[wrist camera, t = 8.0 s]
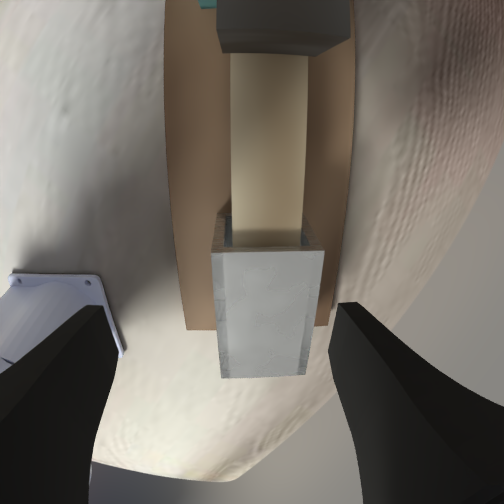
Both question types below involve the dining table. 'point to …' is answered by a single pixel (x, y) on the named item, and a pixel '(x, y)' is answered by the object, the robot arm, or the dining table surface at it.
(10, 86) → the dining table surface
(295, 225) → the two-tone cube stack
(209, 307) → the base board
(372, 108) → the dining table surface
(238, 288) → the sleeve
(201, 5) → the socket
